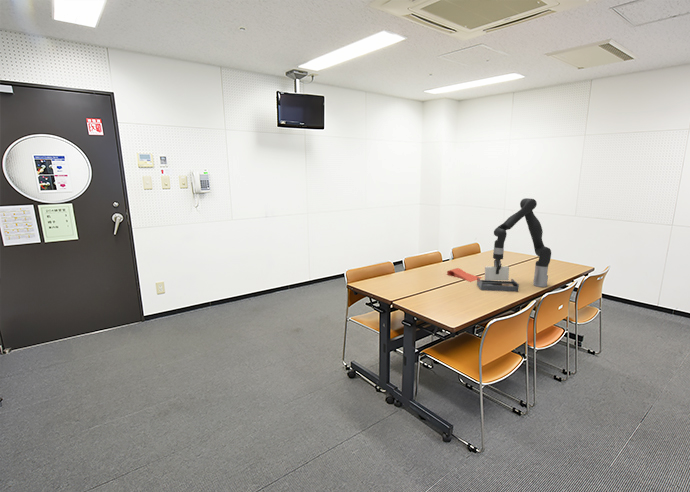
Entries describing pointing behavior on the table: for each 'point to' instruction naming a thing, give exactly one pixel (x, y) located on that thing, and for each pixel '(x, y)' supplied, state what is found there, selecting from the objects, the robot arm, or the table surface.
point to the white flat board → (491, 274)
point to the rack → (497, 285)
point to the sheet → (462, 275)
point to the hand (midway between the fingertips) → (496, 273)
